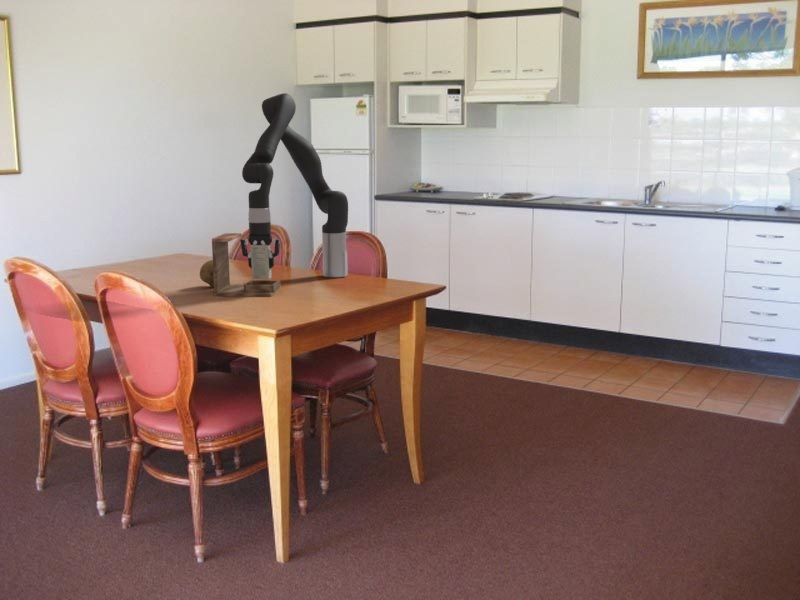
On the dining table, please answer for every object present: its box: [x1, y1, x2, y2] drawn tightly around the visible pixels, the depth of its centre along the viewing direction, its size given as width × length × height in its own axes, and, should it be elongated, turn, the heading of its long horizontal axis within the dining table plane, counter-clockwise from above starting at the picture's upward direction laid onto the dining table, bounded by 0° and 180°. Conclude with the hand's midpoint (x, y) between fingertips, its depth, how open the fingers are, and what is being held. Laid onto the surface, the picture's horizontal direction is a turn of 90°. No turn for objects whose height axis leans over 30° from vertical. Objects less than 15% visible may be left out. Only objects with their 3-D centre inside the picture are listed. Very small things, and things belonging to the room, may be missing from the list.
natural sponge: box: [199, 259, 214, 288], centre depth 324 cm, size 9×9×10 cm
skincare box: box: [249, 244, 273, 280], centre depth 311 cm, size 6×4×12 cm
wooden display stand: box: [211, 232, 282, 297], centre depth 312 cm, size 20×16×20 cm
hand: (261, 268), depth 312 cm, fingers closed on skincare box, 6 cm apart
